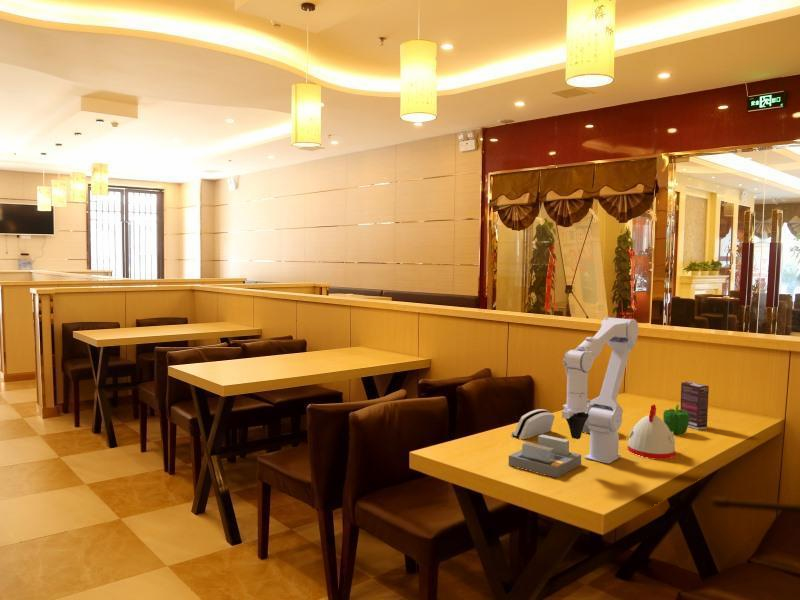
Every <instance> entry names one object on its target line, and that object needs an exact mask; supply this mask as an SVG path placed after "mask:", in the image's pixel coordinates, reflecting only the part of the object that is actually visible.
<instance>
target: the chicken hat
mask: <svg viewBox="0 0 800 600" xmlns="http://www.w3.org/2000/svg"><path fill="white" fill-rule="evenodd" d="M656 406H657V405H656V404H651V406H650V410H649V414H648V415H645V416H644V417H642V418H641V419H639V420H638V422H636V424H635V425H633V426H632V427H631V429H630V431H629V436H628V438H629V439H628V444H627V451H628V450H629V451H630V452H632V453H634V454H633V455H635V454H637V455H640V456H639V457H641V456H643V457H642V458H645V457H648V458H647V459H652V458H654V460H655V459H656V460H666V459H667V460H668V459H672V458H674V457H675V456H676V447H675V446H676V445H675V444H676V443H675V434H673V432H670V430H669V428H668V426H667V425H666V424H665V422H664V420H663V419H662V418H660V417H659V416H657V415H656V413H657V407H656ZM629 451H628V452H629ZM630 452H629V453H630ZM632 453H631V454H632ZM637 455H636V456H637ZM671 457H672V458H671Z"/></svg>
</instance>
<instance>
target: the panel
mask: <svg viewBox="0 0 800 600" xmlns="http://www.w3.org/2000/svg"><path fill="white" fill-rule="evenodd" d="M521 450H522V458H524V459H528V460H532V461H536V462H540V463H544V464H548V465H551V464H552V463H554V451H555V449H554V448H550V447H546V446H541V445H538V443H537V444H536V443H532V442H528V441H527V442H524V443H522V445H521Z"/></svg>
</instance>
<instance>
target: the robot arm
mask: <svg viewBox="0 0 800 600" xmlns="http://www.w3.org/2000/svg"><path fill="white" fill-rule="evenodd" d="M639 332H640V329H639V323H638V322H637V320H636V319H635V318H620V317H619V318H618V317H610V316H606V317H604V318H603V320H601V323H600V329H599V330H598V331H597V332H596V333H595V335H594V336H586V338H585V339H584V340H583V341H582V342H581V343H580V344H578V346H577V347H576V348H575V349H570V350H568V351H566V352H565V354H564V357H563V360H562V361H563V362H562V363H563V367H564V371H565V372H564V373H565V375H566V403H565V404H563V405H562V408H564V409H563V410H561V418H562V419H565V420H566V422H567V425H568V427H569V428H568V429H569V432H570V436H571V439H574V440H580V439H581V437H582V435H583V434H582V430H583V427H584V424H585V422H586V424H587V425H588V428H589V429H590V435H589V453H588V454H586V455H584V457H583V458H584V459H587V460H591V461H595V462H599V463H604V464H611V463H612V462H614V461H616V460H617V459H620V458H621V457H622V455H621V454H619V443H620V442H619V441H620V440H619V438H620V437H619V433H618V431H619V429H620V428H621V427H622V423H623V411H624V410H623V408H622V406H621V405H620V404H619V403H618V401H617V400H618V396H619V393H620V389H621V385H622V381H623V378H624V375H625V371H626V368H627V365H628V361H629V357H630V353H631V350H632V349H634V348H635V346H636V344H637V343H636V342H637V339H638V336H639ZM605 344H607V346H609V347H611V349H612V351H611V354H610V358H609V362H608V364H607V369H606V371H605V375H604V379H603V382H602V386H601V389H600V393H599V396H597V397H595V398H593V399H590V400H591V401H590V403H588V402H587V399H588V387H589V386H588V383H589V381H588V380H589V379H588V378H589V371H590V370H592V367H593V363H594V362H595V359H596V358H597V357H598V356H599V355H600V354H601V353H602V351H603V350H604V349H603V346H604V345H605ZM583 412H585V413H583Z"/></svg>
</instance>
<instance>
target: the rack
mask: <svg viewBox="0 0 800 600" xmlns="http://www.w3.org/2000/svg"><path fill="white" fill-rule="evenodd" d="M537 445H541V446H546V447H550V448H554V449H555V451H554V463H552V464H551V465H548V464H544V463H540V462H536V461H532V460H528V459H524V458H522V449H521V450H518V451H515V452H514V453H511V454H509V455H508V466H509V465H511V466H510V467H512V466H515V467H514V468H516V467H519V468H518V469H520V468H523V469H522V470H524V469H527V470H531V471H534V472H533V473H535V472H538V473H537V474H539V473H542V474H541V475H543V474H545V475H544V476H547V475H549V476H548V477H550V476H552V478H554V477H556V478H555V479H558V478H560V477H561V476H563V475H565V474H567V473H568V471H569V472H570V471H572V470H574V469H576V468H577V467H579V466H581V465H582V453H581V454H579V453H576V452H572V451H570V440H569V439H564V438H559V437H555V436H552V435H548V434H547V435H546V434H540V435H537ZM527 470H526V471H527ZM531 471H530V472H531ZM559 476H560V477H559ZM557 477H558V478H557Z"/></svg>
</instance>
